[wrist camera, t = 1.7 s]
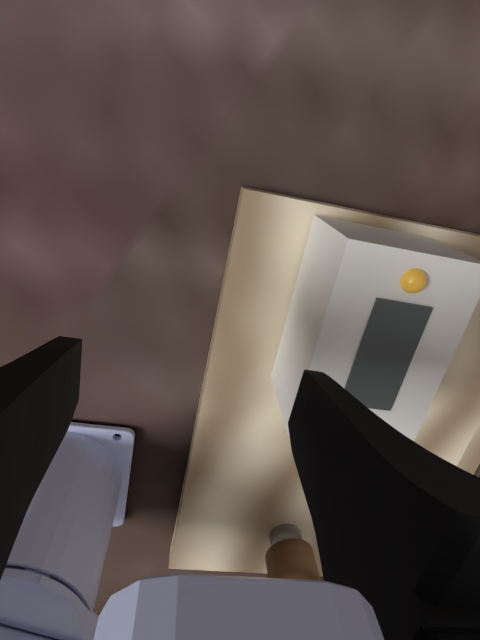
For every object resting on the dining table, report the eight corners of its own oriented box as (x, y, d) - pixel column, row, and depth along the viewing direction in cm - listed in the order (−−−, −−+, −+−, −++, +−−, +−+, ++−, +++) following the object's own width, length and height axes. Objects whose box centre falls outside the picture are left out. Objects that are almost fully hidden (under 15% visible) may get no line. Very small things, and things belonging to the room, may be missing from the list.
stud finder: (270, 376, 23) (290, 443, 18) (314, 214, 20) (353, 241, 15) (370, 389, 24) (415, 456, 19) (428, 237, 21) (502, 270, 16)
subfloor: (169, 552, 30) (168, 569, 29) (241, 185, 20) (243, 188, 19) (407, 566, 33) (415, 582, 32) (573, 253, 23) (593, 259, 22)
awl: (257, 549, 29) (272, 656, 23) (267, 517, 28) (285, 620, 22) (301, 552, 30) (326, 657, 24) (313, 520, 28) (342, 622, 22)
